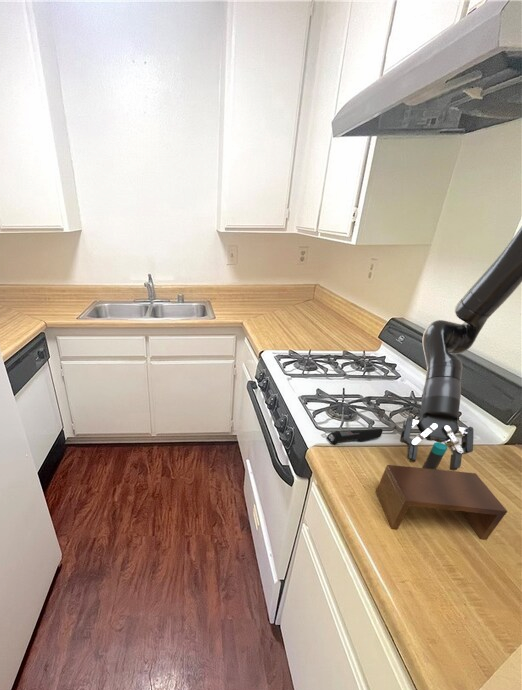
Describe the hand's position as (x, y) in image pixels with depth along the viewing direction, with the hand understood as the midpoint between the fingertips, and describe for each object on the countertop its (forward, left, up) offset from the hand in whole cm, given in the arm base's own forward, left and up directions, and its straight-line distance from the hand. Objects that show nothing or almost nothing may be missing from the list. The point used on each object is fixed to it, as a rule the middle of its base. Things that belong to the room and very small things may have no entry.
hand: (432, 465), depth 80 cm
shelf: (+4, +11, -5) cm, 13 cm away
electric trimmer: (+13, -16, -5) cm, 21 cm away
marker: (0, -1, -5) cm, 5 cm away
